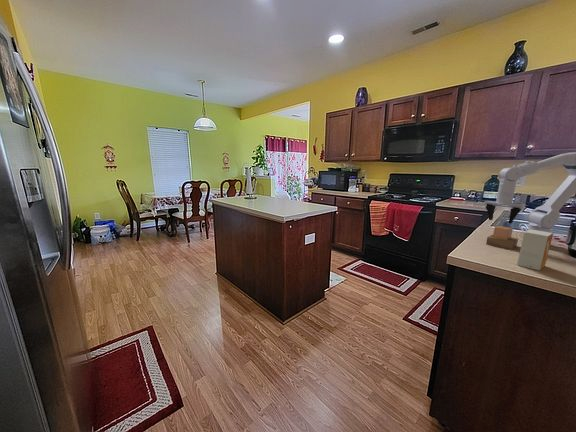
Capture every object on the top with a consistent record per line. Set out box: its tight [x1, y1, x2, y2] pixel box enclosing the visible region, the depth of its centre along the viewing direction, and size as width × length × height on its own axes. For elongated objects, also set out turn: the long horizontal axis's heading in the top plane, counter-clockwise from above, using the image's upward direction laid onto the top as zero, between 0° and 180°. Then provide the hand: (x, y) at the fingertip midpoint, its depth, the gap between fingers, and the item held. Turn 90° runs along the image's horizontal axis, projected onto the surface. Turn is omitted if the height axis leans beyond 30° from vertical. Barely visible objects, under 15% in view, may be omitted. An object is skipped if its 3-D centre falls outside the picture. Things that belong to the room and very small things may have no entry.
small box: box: [516, 229, 554, 271], centre depth 88 cm, size 8×6×13 cm
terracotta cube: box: [492, 225, 514, 240], centre depth 111 cm, size 5×5×5 cm
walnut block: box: [485, 234, 519, 251], centre depth 112 cm, size 9×9×4 cm
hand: (500, 221), depth 115 cm, fingers open, 7 cm apart
